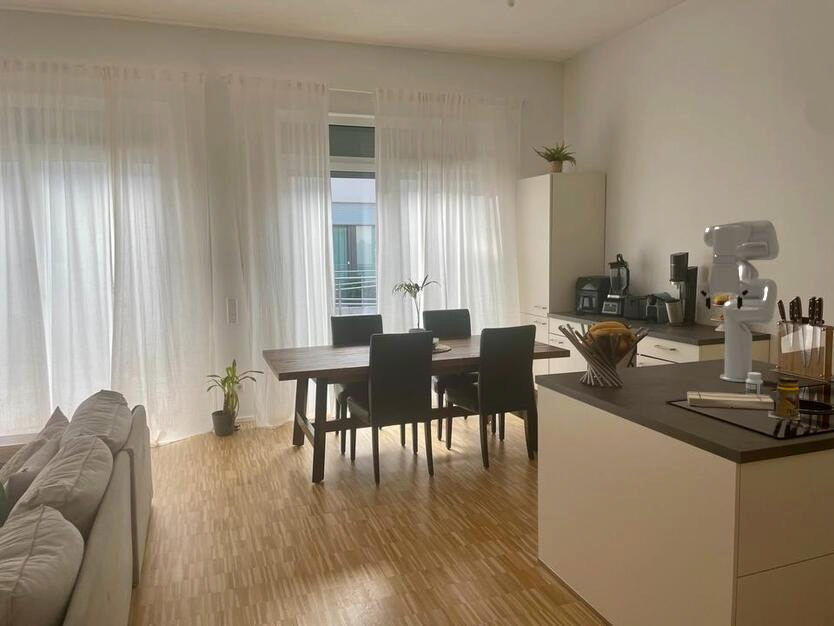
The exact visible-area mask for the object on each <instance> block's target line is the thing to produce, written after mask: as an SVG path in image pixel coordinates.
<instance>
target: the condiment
mask: <svg viewBox="0 0 834 626" xmlns="http://www.w3.org/2000/svg"><path fill="white" fill-rule="evenodd" d="M777 379H778V382H777V386H776V398H775V399H776V400H775V404H776V405H775V411H773V410H768V413H767V414H768V415H767V417H768V418H776V419H785V420H795V421H800V420H801V415H800V410H799V409H800V388H799V379H798V378H796V377H792V376H780V377H778V378H777Z"/></svg>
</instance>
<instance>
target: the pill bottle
mask: <svg viewBox="0 0 834 626" xmlns="http://www.w3.org/2000/svg"><path fill="white" fill-rule="evenodd" d="M748 377H749V379H747V380H746V382H745V394H759V395H764V380H762V379H761V378H762V373H760V372H755V371H754V372H753V371H752V372H750V373H748Z"/></svg>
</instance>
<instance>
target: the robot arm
mask: <svg viewBox="0 0 834 626" xmlns="http://www.w3.org/2000/svg"><path fill="white" fill-rule="evenodd" d="M703 240H704V244H705V245H706V246H708V247H710V248H712V264H710V265H709V269H708V276H707V277H708V279H707V280H706V281H705V282H703V283H701V284H698V285H697V288H698V291H699V292H700V294H701V295H702V296H703V297H705V307H706V308H707V310H711V309H712V308H711V305H712V304H711V303H712V301H711V300H712V299H711V296H712V295H713V294H714V293H715V294H719V293H720V294H731V298H732V299H728V300H726V301H725V302H724V303H723V306H722V316H723V321H724V322H723V323H724V373H722V374H720V375H719V378H720V379H721V380H723V381H728V382H734V383H737V382H738V383H746V380H747V379H749V377H748V373H750V372H753V371H752V370H753V369H752V366H753V361H752V360H753V357H752V356H753V334H752V332H751V331H750V329H749V327H747V325H768V324H770V323H772V321H773V318H774V316H775V314H774V313H775V309H776V308H775V307H776V303H777V297H778V286H777V283H776V281H774V279H773V280H772V279H770V278H769V279H768V278H759V276H760V275H759V274H760V273H759V271H758V269H757V268H756V267H755V265H753V264H752V263H750V261H772V260H775V259H776V258H777V257H778V256H779V253H780V252H779V251H780V246H779V242H778V236H777V232H776V228H775V225H774V223H772V221H770V220H766V219H765V220H764V219H762V220H744V221H743V220H742V221H739V222H730V223H724V224H717V225H711V226H708V227H706V229H705V230H704V233H703ZM704 287H707V289H708V291H707V292H706V291H704Z"/></svg>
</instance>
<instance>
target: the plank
mask: <svg viewBox="0 0 834 626" xmlns="http://www.w3.org/2000/svg"><path fill="white" fill-rule="evenodd" d="M686 394H687V395H686V396H687V397H686V398H687V399H686V400H687V403H688V406H689V405H694V406H695V405H696V406H695V407H710V408H711V407H712V408H713V407H714V408H731V407H733V408H735V409H736V408H737V409H753V410H755V409H756V410H772V411H773V410H775V401H774V400H773V398H772V397H771V395H769V394H763V395H759V394H746V393H733V392H732V393H729V392H728V393H727V392H707V391H706V392H705V391H704V392H703V391H701V392H700V391H687V393H686ZM694 406H693V407H694Z"/></svg>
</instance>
